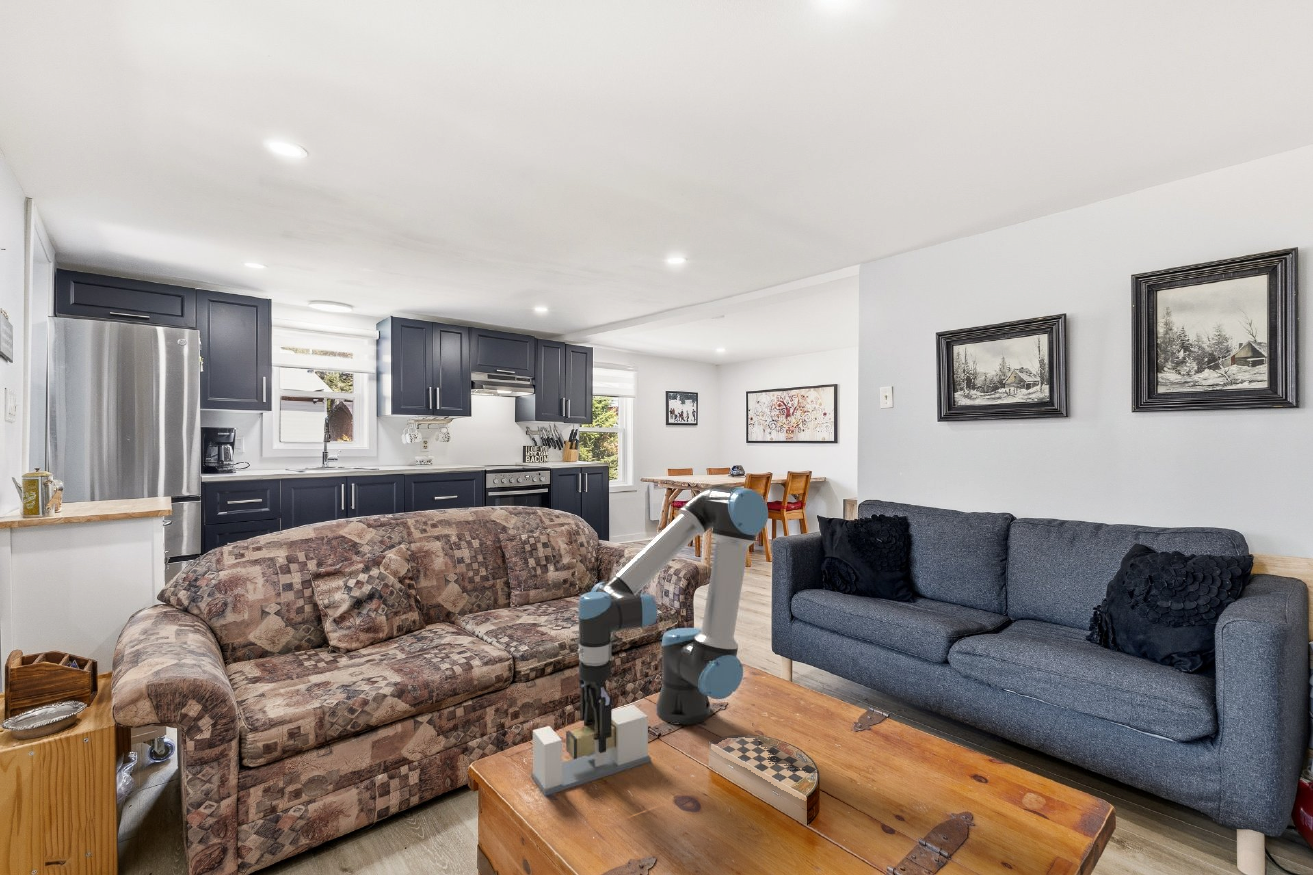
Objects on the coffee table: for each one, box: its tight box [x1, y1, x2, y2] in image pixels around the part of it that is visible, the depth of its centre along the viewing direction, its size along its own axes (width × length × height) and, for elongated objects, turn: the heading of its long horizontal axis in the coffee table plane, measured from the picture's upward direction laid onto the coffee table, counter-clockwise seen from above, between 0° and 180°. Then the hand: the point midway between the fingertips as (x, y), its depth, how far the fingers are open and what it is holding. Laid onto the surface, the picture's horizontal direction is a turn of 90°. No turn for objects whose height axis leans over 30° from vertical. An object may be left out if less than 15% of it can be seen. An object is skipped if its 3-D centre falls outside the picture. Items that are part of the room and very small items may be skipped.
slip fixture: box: [530, 704, 652, 797], centre depth 143 cm, size 26×9×11 cm, turn 121°
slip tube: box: [565, 724, 616, 759], centre depth 145 cm, size 18×4×4 cm, turn 121°
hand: (595, 758), depth 144 cm, fingers closed on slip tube, 4 cm apart
